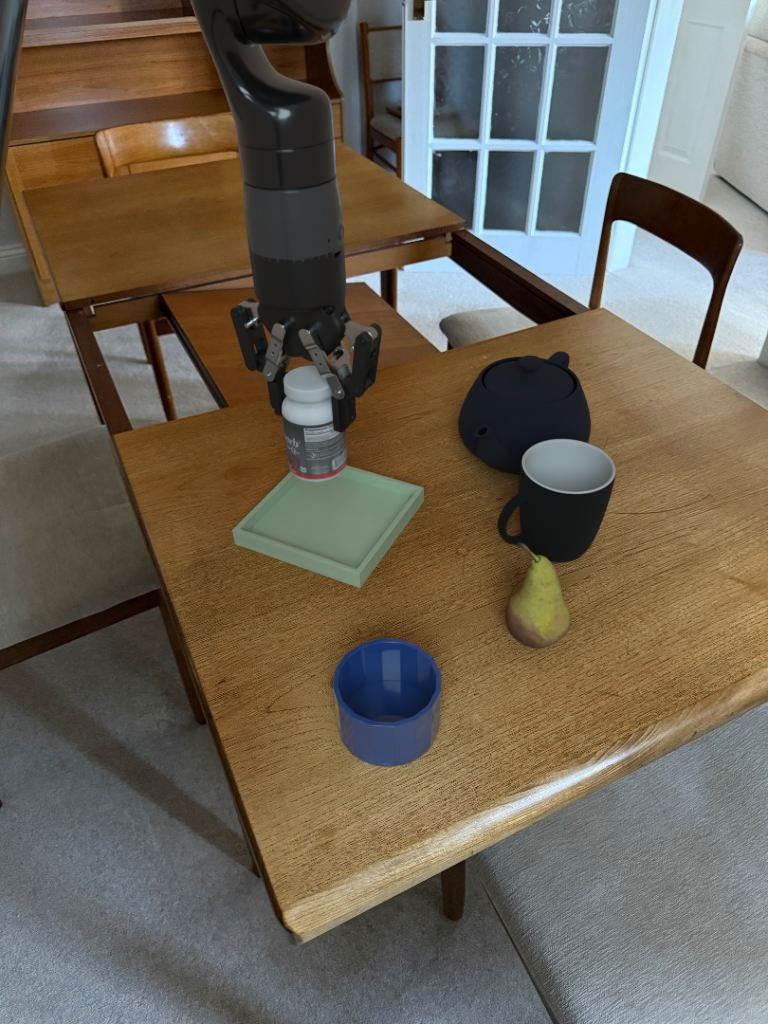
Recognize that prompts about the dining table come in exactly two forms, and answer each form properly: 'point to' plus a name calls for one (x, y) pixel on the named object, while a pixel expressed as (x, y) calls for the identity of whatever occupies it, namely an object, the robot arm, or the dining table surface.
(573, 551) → the mug
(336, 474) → the pill bottle
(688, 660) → the dining table surface
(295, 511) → the tray
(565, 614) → the fruit
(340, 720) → the pen cup
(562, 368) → the teapot
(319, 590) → the dining table surface
